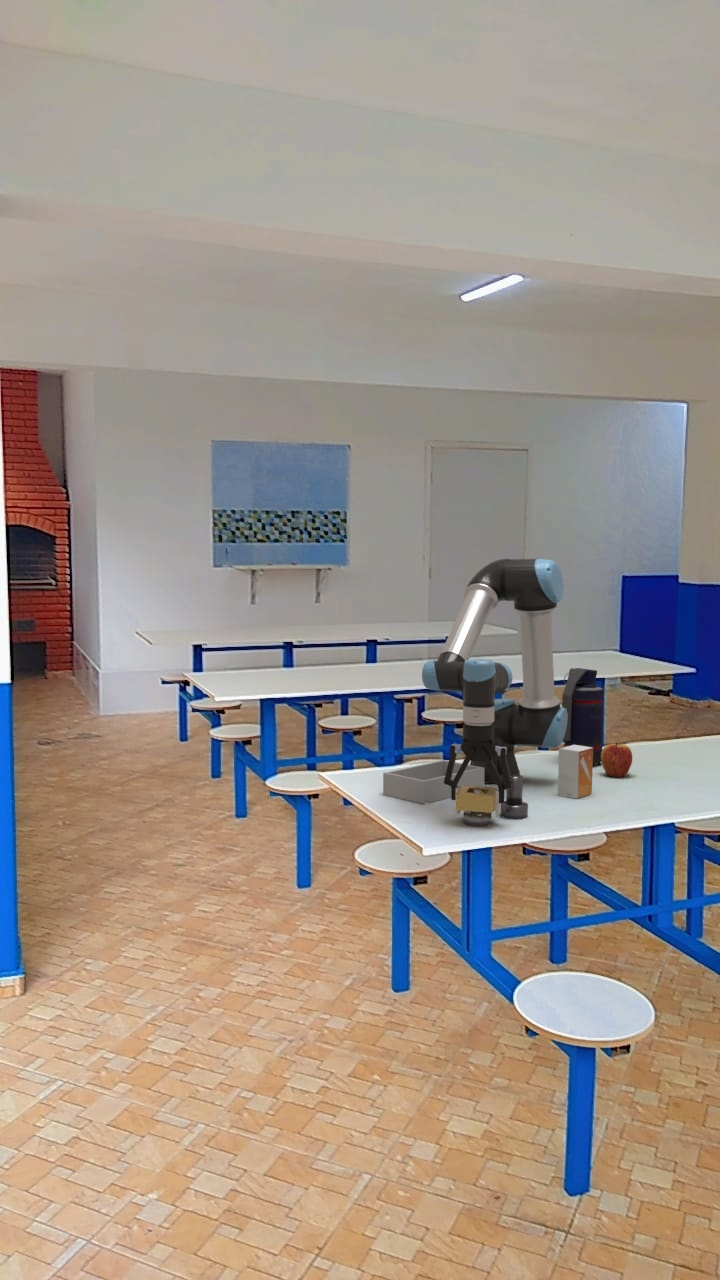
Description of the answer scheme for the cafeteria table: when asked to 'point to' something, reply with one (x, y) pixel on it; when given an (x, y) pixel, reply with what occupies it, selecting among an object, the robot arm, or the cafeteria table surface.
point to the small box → (575, 771)
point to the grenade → (584, 711)
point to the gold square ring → (476, 799)
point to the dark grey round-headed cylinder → (514, 801)
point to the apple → (616, 759)
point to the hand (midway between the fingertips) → (477, 814)
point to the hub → (477, 817)
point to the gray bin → (428, 781)
